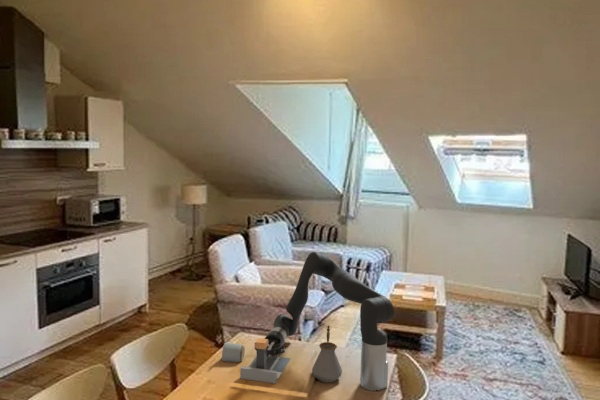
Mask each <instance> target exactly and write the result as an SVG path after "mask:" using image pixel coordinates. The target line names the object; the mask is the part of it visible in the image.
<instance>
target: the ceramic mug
mask: <svg viewBox="0 0 600 400" xmlns="http://www.w3.org/2000/svg"><path fill="white" fill-rule="evenodd" d="M245 349H246V348H245V346H244V345H243V344H240V343H233V342H228V341H227V342H224V343H223V346H222V351H221V362H227V363H228V362H230V363H231V362H232V363H242V362H243V361H244V357H245Z"/></svg>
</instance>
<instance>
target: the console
mask: <svg viewBox="0 0 600 400" xmlns="http://www.w3.org/2000/svg"><path fill="white" fill-rule="evenodd" d="M256 359H257V355H256V356H255V357H254V359H253V360H252V362H251V363H250V364H249V365H248V366H241V367H240V370H239V371H240V372H239V373H240V374H239V377H240V378H239V379H240V380H245V381H246V380H247V381H255V382H261V383H269V384H275V385H276V384H277V382H278V380H279V379H280V377H281V376H282V375H283V372H284V371H285V369H286V367H287V365H288V364H289V362H290V360H291V358H290V357H283V356H277V355H275V356H272V355H270V356H268V357H267V360H266V369H258V368H256Z"/></svg>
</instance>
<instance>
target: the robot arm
mask: <svg viewBox="0 0 600 400" xmlns="http://www.w3.org/2000/svg"><path fill="white" fill-rule="evenodd" d="M313 274H314V275H316V276H320V277H322V278H325V279H327V280H328V281H330V282H331V285H332V288H333V289H334V291H335V292H336V293H337V294H339V296H341V297H342V298H344V299H345V300H348V301H350V302H353V303H357V304H361V305H360V309H359V311H360V312H359V313H360V314H359V315H360V316H359V317H360V320H359V322H360V324H359V325H360V334H361V349H360V350H361V352H360V353H361V355H360V374H359V385H360V387H362V388H363V389H365V390H367V391H371V392H373V391H374V392H377V391H376V390H378V391H382V390H384V389H386V388H388V380H389V379H388V378H389V362H388V361H387V355H388V354H387V352H388V350H387V348H388V334H387V332H385V331H384V330H382V329H378V324H380V323H381V324H382V323H386V322H389V321H391V320H392V319H393V318H394V316H395V308H394V305H393V303H392V302H391V300H390V299H389V298H388V297H387V296H385V295H383V294H381V293H379V292H378V291H375V290H374V289H372V288H370V286H368V285H367V284H365V283H364V282H362V281H361V280H359V279H358V278H357V277H356V276H354V275H353V274H351V273H350V272H348V271H347V270H346V269H344V268H342V267H340V266H339V265H338V264H337V263H336V262H335V261H334V260H333V258H331V257H330V256H328V255H326V254H323V253H321V252H316V251H312V252H310V253H309V254H308V256H307V257H306V259H305V261H304V263H303V267H302V270H301V272H300V274H299V278H298V280H297V284H296V287H295V290H294V291H293V294H292V295H291V297H290V298H289V301H288V303H287V305H286V307H285V311H286V312H287V313H288V314H289V315H290V316H291V317H289V316H287V315H285V314H284V313H281V314H278V315H277V316H276V317H275V319H274V322H273V328H272V329H271V330H269V332H268V333H267V335H265V337H264V339H268V346H267V357H268V356H277V355H281V354H283V353H285V349H286V348H285V345H284V343H285V342H286V339H287V338H288V337H291V336H293V335H295V334H296V332H297V330H298V325H299V321H300V316H301V314H302V312H303V310H304V308H305V307H306V305H307V302H308V300H309V283H310V279H311V278H312V276H313ZM254 350H255V351H256V352H257V348H255V347H254ZM381 389H382V390H381Z"/></svg>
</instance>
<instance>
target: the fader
mask: <svg viewBox="0 0 600 400" xmlns="http://www.w3.org/2000/svg"><path fill="white" fill-rule="evenodd" d="M267 346H268V339H265V338H260V337H259V338H257V339H256V340H255V342H254V349H255V348H257V351H256V356H257V359H256V368H258V369H266V360H267Z"/></svg>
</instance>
